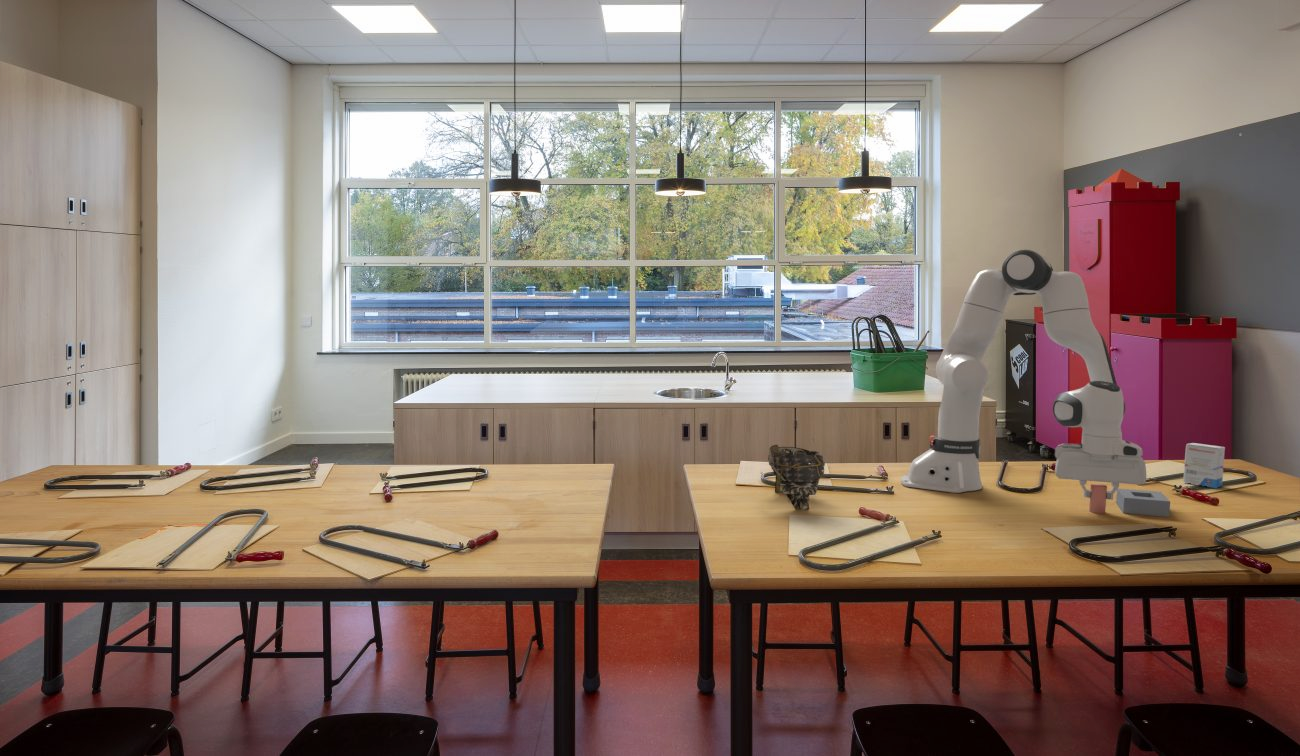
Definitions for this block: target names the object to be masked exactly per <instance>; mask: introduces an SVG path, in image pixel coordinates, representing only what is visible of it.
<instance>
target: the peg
mask: <svg viewBox="0 0 1300 756" xmlns="http://www.w3.org/2000/svg"><path fill="white" fill-rule="evenodd" d="M1089 490H1090V491H1091V494H1090V495H1091V498H1089V508H1088V509H1089V512H1090V513H1092V514H1098V515H1103V514H1105V513H1106V509H1107V508H1106V507H1107V506H1106V505H1107V499H1106V492H1107V490H1108V485H1106V484H1104V483H1103V484H1102V483H1090V489H1089Z"/></svg>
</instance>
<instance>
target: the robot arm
mask: <svg viewBox="0 0 1300 756" xmlns="http://www.w3.org/2000/svg"><path fill="white" fill-rule="evenodd" d="M1085 286H1086V285H1085V283H1084V281H1083V278H1082V277H1081V275H1079V274H1078V273H1076V272H1074V271H1069V270H1068V271H1066V270H1065V271H1054V269H1053V266H1052V265H1051V263H1050V262H1049V261H1048V260H1047V259H1046V258H1045V256H1043V255H1042V254H1039V253H1038V252H1036V251H1034V250H1031V249H1020V250H1015V251H1013V252H1012V253H1010V254H1008V256H1007V257H1006V258H1005V259H1004V261H1003V263H1002V266H1001V269H994V268H993V269H991V268H987V269H982V270H981V271H979V272H978V273H976V275H975V276H974V278H973V280H972V281H971V284H970V285H969V288H968V290H967V292H966V294H965V296H964V300H963V303H962V305H961V307H960V310H959V314H958V315H957V319H956V322H955V325H954V326H953V327H954V328H953V330H952V332H951V334H950V336H949V338H948V339H947V342H946V344H945V346H944V348H943V350H942V351H941V354H940V357H939V359H938V360H937V362H936V365H935V373H936V377H937V379H938V381H939V382H940V383H941V385H943V392H942V396H941V401H940V406H939V409H938V416H937V417H938V421H937V422H938V423H937V435H930V437H929V438H928V440H929V449H927V450H926V451H925V452H923V453H921V454H920V455H919V456H917V457H915V458H914V459H913V460H912V461H911V464H910V466H909V469H908V473H906V474H904V475H902V476H901V477H900V478H901V479H900V483H901V484H902V485H903V486H905V487H907V488H908V487H909V488H917V489H924V490H933V491H938V492H946V493H947V492H948V493H953V494H959V493H964V492H973V491H978V490H981V489H983V483H982V480H981V475H980V467H979V466H980V465H979V458H980V455H981V440H980V439H979V431H980V413H981V406H982V402H983V398H984V392H985V386H986V384H987V382H988V377H989V375H988V370H987V368H986V366H985V364H984V363H983V362H982V358H983V357H984V355H985V353H986V352H987V350H988V349H989V347H990V345H991V344H992V342H993V341H994V339H995V338H996V334H997V332H998V329H999V326H1000V322H1001V320H1002V317H1003V316H1004V315H1003V314H1004V312H1005V308H1006V305H1007V303H1008V302H1009V299H1010V298H1011V297H1012V296H1026V295H1027V296H1029V295H1031V296H1032V295H1033V296H1034V295H1037V296H1039V298H1040V301H1041V306H1042V307H1041V308H1042V315H1043V326H1044V330H1045V332H1046V335H1047V337H1048V338H1049V339H1050V340H1051V341H1052V342H1054V343H1055V344H1057V345H1059V346H1061V347H1064V348H1065V349H1066V348H1067V349H1069V350H1071V351H1073V352H1075V353H1077V354H1078V355H1080V356H1081V358H1082V359H1083V361H1084V362H1085V365H1086V369H1087V373H1088V376H1089V380H1090V381H1089V382H1088V383H1087V384H1086V385H1085V386H1083V387H1080V388H1077V389H1074V390H1069V391H1064V392H1060V393H1059V394H1058V395H1057V396H1056V397H1055V399H1054V401H1053V402H1052V403H1053V404H1052V413H1053V417H1054V419H1055V420H1056V421H1057V423H1058V424H1059V425H1061V426H1063V427H1067V428H1082V433H1081V443H1069V442H1068V443H1067V442H1064V443H1061V444H1059V445H1057V446H1056V447H1055V448H1054V457H1055V459H1056V461H1055V467H1054V474H1055V476H1056V477H1057V479H1060V480H1072V481H1073V480H1074V481H1079V483H1078V484H1079V485H1080V486H1081V488H1082V490H1083V498H1086V499H1087V498H1089V499H1090V498H1091V495H1090V494H1091V491H1090V489H1087V488H1086V486H1085V485H1087V481H1089V482H1100V483H1101V482H1102V483H1111V486H1112V487H1111V488H1110V489H1109V491H1107V492H1106V500H1109V501H1110V500H1114V494H1115V492H1117V489H1120V488H1119V487H1120V484H1124V485H1125V484H1126V485H1127V484H1128V485H1140V486H1141V485H1143V484H1145V483H1146V481H1147V465H1146V461H1145V460H1144V458H1143V457H1142V456H1143V448H1142V447H1140V446H1139V445H1138V444H1136V443H1134V442H1130V441H1127V440H1124V439H1123V432H1122V428H1121V427H1122V423H1123V420H1124V416H1125V413H1126V403H1125V400H1124V395H1123V390H1122V388H1121V386H1119V385H1118V383H1117V381H1116V377H1115V376H1116V375H1115V372H1114V369H1113V365H1112V362H1111V361H1112V360H1111V356H1110V354H1109V350H1108V347H1107V344H1106V341H1105V338H1104V337H1103V334H1101V332H1099V331H1098V330H1097V329H1096V326H1095V325H1094V322H1093V320H1092V316H1091V312H1090V311H1091V310H1090V303H1089V299H1088V294H1087V291H1086V287H1085Z"/></svg>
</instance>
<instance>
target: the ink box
mask: <svg viewBox="0 0 1300 756" xmlns="http://www.w3.org/2000/svg"><path fill="white" fill-rule="evenodd" d="M1225 451H1226V447H1225V446H1219V445H1212V444H1211V445H1210V444H1204V443H1196V442H1190V443H1186V445H1185V454H1184V467H1183V482H1185V483H1184V484H1187V483H1191V484H1190V485H1193V484H1197V485H1196V486H1199V485H1202V486H1201V487H1204V486H1207V487H1206V488H1212V489H1218V488H1219V487H1223V477H1224V476H1223V475H1224V464H1225ZM1183 482H1182V483H1183Z"/></svg>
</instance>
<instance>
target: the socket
mask: <svg viewBox="0 0 1300 756" xmlns="http://www.w3.org/2000/svg"><path fill="white" fill-rule="evenodd" d="M1115 504H1116V505H1117V506H1118V507H1119V509H1120V511H1121V512H1122V513H1123V514H1132V515H1140V516H1143V515H1144V516H1154V517H1155V516H1156V517H1165V518H1170V511H1171V510H1170V509H1171V501H1170V499H1168V497H1166V495H1165V494H1164V493H1162V491H1158V490H1157V491H1153V490H1143V489H1141V490H1140V489H1129V488H1118V489H1117V490H1116V498H1115Z"/></svg>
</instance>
